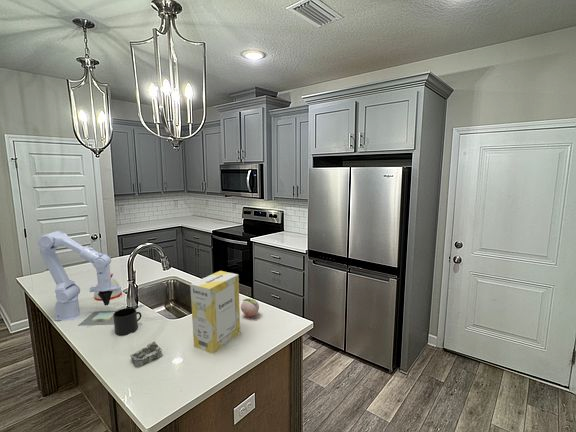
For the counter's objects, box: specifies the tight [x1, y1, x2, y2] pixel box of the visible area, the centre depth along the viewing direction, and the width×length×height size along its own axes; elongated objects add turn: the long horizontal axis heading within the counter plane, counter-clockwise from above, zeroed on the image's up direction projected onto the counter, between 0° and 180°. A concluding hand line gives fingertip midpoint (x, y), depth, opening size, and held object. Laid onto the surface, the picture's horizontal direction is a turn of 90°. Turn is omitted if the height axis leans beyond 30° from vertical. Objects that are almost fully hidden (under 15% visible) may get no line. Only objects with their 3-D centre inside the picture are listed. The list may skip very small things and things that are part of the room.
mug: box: [113, 307, 142, 336], centre depth 143 cm, size 9×12×9 cm
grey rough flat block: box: [129, 341, 163, 367], centre depth 122 cm, size 11×8×4 cm
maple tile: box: [92, 312, 115, 322], centre depth 153 cm, size 8×1×7 cm
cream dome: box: [93, 273, 123, 302], centre depth 178 cm, size 14×14×15 cm
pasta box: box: [189, 270, 241, 355], centre depth 133 cm, size 18×10×28 cm, turn 151°
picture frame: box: [77, 310, 117, 327], centre depth 153 cm, size 18×14×1 cm
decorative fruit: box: [240, 298, 260, 318], centre depth 154 cm, size 9×8×10 cm
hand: (107, 304), depth 156 cm, fingers closed
